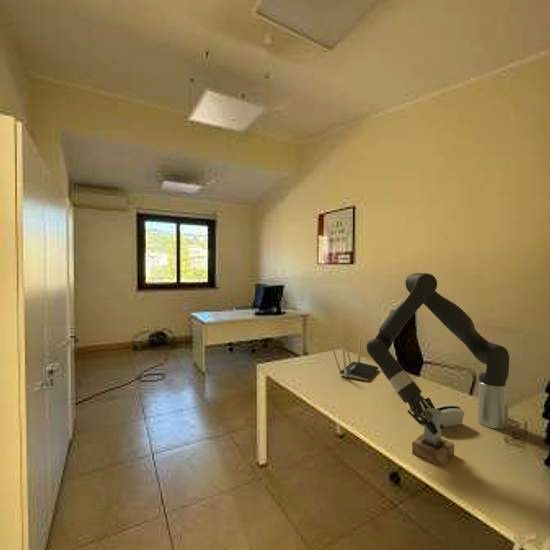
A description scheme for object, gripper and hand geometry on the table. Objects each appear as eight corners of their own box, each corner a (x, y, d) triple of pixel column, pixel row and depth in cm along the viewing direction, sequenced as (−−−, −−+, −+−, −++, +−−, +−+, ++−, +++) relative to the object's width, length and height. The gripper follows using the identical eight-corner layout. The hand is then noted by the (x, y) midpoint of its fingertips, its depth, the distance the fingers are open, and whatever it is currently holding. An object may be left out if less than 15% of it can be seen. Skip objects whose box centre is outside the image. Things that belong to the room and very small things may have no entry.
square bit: (429, 440, 113) (429, 406, 113) (441, 444, 110) (441, 410, 110) (424, 444, 110) (424, 410, 110) (436, 449, 107) (436, 414, 107)
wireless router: (365, 385, 175) (365, 349, 174) (326, 377, 187) (326, 344, 187) (381, 368, 203) (381, 337, 203) (346, 362, 216) (346, 333, 215)
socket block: (424, 442, 117) (424, 432, 117) (454, 454, 110) (454, 443, 110) (412, 453, 111) (412, 442, 111) (442, 467, 103) (442, 454, 103)
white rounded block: (452, 418, 136) (459, 400, 132) (461, 427, 131) (468, 408, 128) (419, 423, 132) (424, 404, 128) (426, 432, 127) (432, 413, 124)
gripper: (402, 385, 110) (438, 434, 102) (420, 376, 120) (455, 419, 111) (388, 396, 115) (421, 443, 106) (406, 386, 124) (439, 428, 115)
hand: (438, 431), depth 109 cm, fingers closed on square bit, 4 cm apart
